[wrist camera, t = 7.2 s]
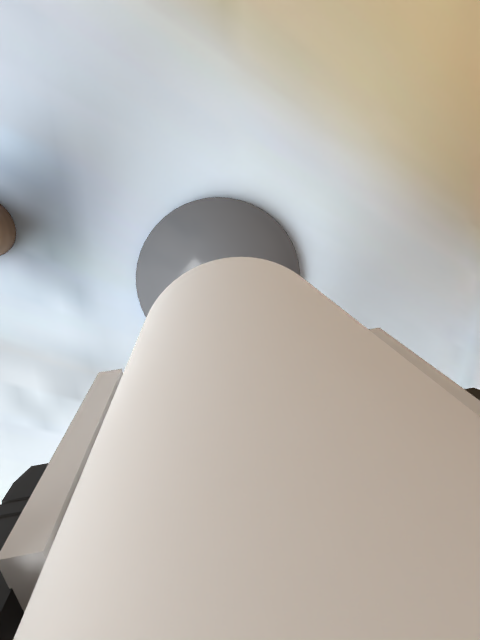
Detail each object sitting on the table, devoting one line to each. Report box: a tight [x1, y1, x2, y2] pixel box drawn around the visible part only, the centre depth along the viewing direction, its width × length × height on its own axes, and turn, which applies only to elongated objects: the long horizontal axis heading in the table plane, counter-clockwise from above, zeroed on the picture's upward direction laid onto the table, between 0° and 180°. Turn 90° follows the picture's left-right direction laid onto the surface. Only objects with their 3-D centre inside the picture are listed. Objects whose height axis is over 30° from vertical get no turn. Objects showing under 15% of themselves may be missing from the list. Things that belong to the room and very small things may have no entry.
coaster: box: [136, 197, 300, 317], centre depth 27 cm, size 12×12×1 cm
